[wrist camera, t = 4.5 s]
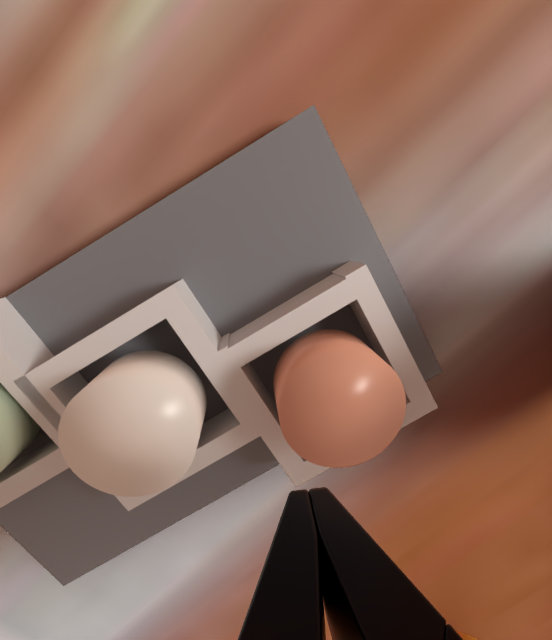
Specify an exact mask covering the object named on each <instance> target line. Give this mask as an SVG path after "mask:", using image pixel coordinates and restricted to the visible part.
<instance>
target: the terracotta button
mask: <svg viewBox="0 0 552 640" xmlns="http://www.w3.org/2000/svg"><path fill="white" fill-rule="evenodd" d="M273 386H274V393H275V399H276V405H277V411H278V416H279V422H280V427H281V431H282V433H283V436H284V438H285V440H286V441H287V443H288V444H289V446H290V447H291V448H292V449H293V450H294V451H295V452H296V453H297V454H298V455H299V456H301V457H302V458H303V459H305V460H307V461H309V462H311V463H314V464H316V465H320V466H324V467H331V468H343V467H350V466H354V465H358V464H361V463H363V462H366V461H368V460H370V459H372V458H373V457H375V456H376V455H378V454H379V453H381V452H382V451H383V450H384V449H385V448H386V447H387V446H388V445H389V444H390V443H391V442H392V441H393V439H394V438H395V437H396V435H397V434H398V432H399V430H400V428H401V426H402V423H403V420H404V417H405V411H406V396H405V391H404V387H403V384H402V382H401V380H400V378H399V376H398V375H397V373H396V372H395V371H394V370H393V368H392V367H391V366H390V365H388V364H387V363H386V362H385V361H384V360H383V359H382V358H381V357H379V356H378V355H377V354H376V353H375V352H374V351H373V350H372V349H370V348H369V347H368V346H367V345H366V344H365V343H364V342H363V341H361V340H360V339H359V338H357V337H356V336H354V335H352V334H350V333H348V332H345V331H341V330H335V329H324V330H317V331H313V332H310V333H307V334H305V335H303V336H301V337H300V338H298V339H297V340H295V341H294V342H293V343H291V344H290V345H289V346H288V347H287V348H286V350H285V351H284V352H283V353H282V355H281V356H280V358H279V360H278V362H277V365H276V368H275V371H274V377H273Z"/></svg>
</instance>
